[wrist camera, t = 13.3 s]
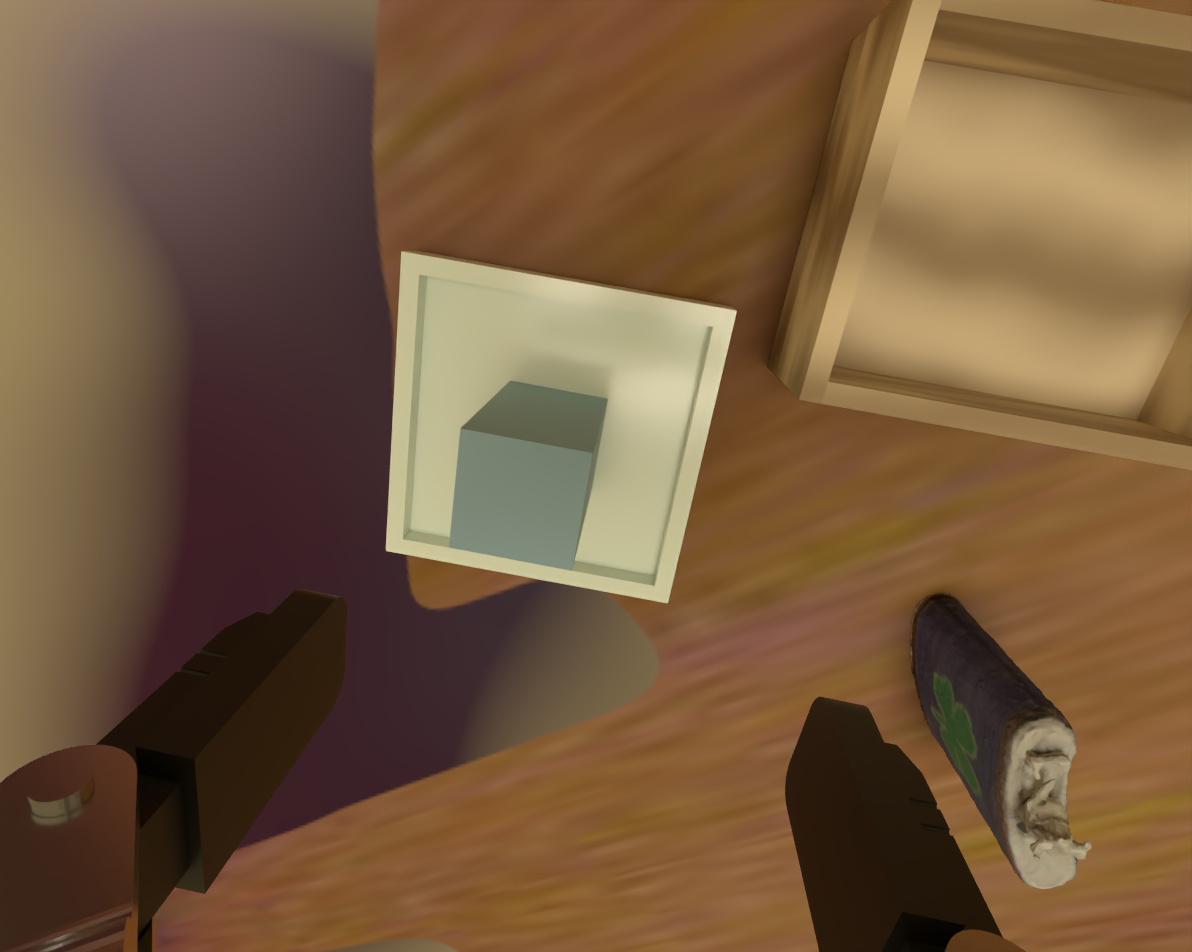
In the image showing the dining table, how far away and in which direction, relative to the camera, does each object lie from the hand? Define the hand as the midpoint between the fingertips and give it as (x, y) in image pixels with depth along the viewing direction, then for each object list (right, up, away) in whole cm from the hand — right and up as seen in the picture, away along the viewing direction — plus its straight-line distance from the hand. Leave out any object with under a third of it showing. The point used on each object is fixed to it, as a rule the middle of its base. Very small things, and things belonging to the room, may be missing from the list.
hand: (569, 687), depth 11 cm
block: (-2, +5, +19) cm, 19 cm away
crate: (+17, +13, +15) cm, 26 cm away
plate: (-2, +6, +20) cm, 20 cm away
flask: (+19, -6, +23) cm, 30 cm away
